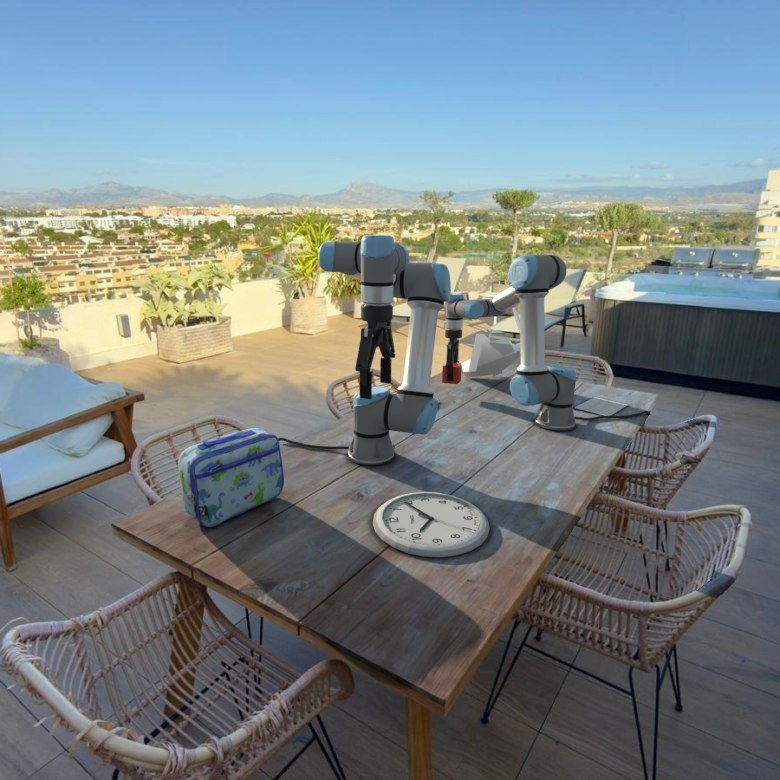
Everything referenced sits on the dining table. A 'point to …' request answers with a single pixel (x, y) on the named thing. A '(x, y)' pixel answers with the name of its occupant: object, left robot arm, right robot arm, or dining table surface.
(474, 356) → the white plastic object
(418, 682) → the dining table surface
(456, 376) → the brick
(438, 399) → the fork
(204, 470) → the lunch box
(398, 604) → the dining table surface
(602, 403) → the invitation card
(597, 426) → the dining table surface
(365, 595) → the dining table surface
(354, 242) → the left robot arm
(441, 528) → the wall clock
